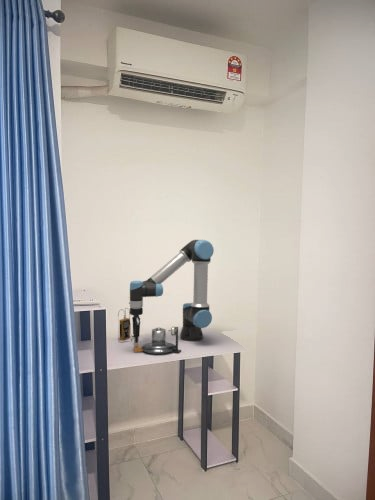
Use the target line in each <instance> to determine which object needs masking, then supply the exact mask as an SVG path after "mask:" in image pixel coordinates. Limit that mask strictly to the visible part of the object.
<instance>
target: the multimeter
mask: <svg viewBox="0 0 375 500" xmlns="http://www.w3.org/2000/svg"><path fill="white" fill-rule="evenodd" d="M126 309H127V310H128V313H129V315H128V316H129V317H127V315H126V314H127V313H126ZM120 311H123V312H124V314H123V318H122V319H119V335H117V337H118V339H117V340H118V342H119V343H121V341H123V343H127V342H129V340H128V339H130V342H133V340H134V337H133V336H134V335H131V334H132V331H131V328H132V325H131V315H130V310H129V308H128V307H125V309H120ZM119 314H120V312H118V315H117V316H119ZM131 337H132V338H131ZM125 340H126V341H125ZM127 340H128V341H127Z"/></svg>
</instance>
